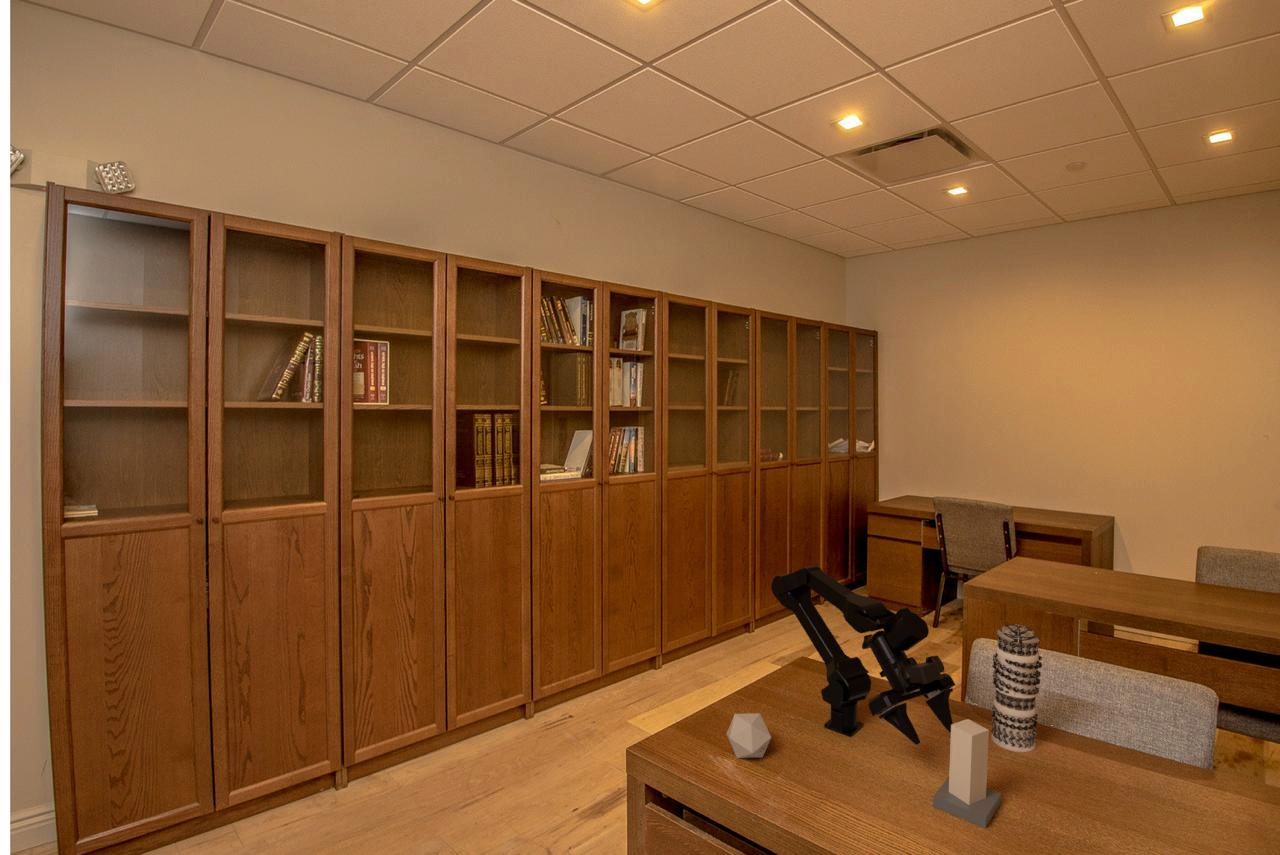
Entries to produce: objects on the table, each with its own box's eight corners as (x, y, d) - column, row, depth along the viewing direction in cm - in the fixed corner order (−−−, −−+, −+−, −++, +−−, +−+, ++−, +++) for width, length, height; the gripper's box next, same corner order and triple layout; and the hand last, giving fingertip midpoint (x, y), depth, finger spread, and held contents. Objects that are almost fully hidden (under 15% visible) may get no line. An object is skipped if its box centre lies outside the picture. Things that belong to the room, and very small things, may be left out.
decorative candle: (1048, 747, 148) (1054, 632, 146) (1016, 757, 145) (1022, 639, 142) (1010, 726, 157) (1015, 617, 154) (979, 735, 153) (984, 624, 151)
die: (759, 774, 141) (783, 728, 143) (720, 749, 142) (744, 704, 144) (752, 766, 149) (774, 722, 151) (715, 742, 150) (738, 699, 152)
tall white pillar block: (948, 791, 130) (951, 724, 129) (965, 785, 132) (967, 718, 131) (969, 805, 126) (972, 736, 125) (985, 798, 128) (988, 730, 127)
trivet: (949, 784, 136) (950, 774, 136) (1000, 803, 130) (1000, 793, 130) (932, 806, 129) (933, 796, 129) (985, 828, 123) (985, 817, 123)
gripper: (881, 653, 134) (926, 736, 125) (949, 634, 142) (996, 711, 134) (850, 675, 142) (890, 755, 133) (916, 657, 150) (958, 731, 141)
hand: (935, 737), depth 135 cm, fingers open, 9 cm apart
